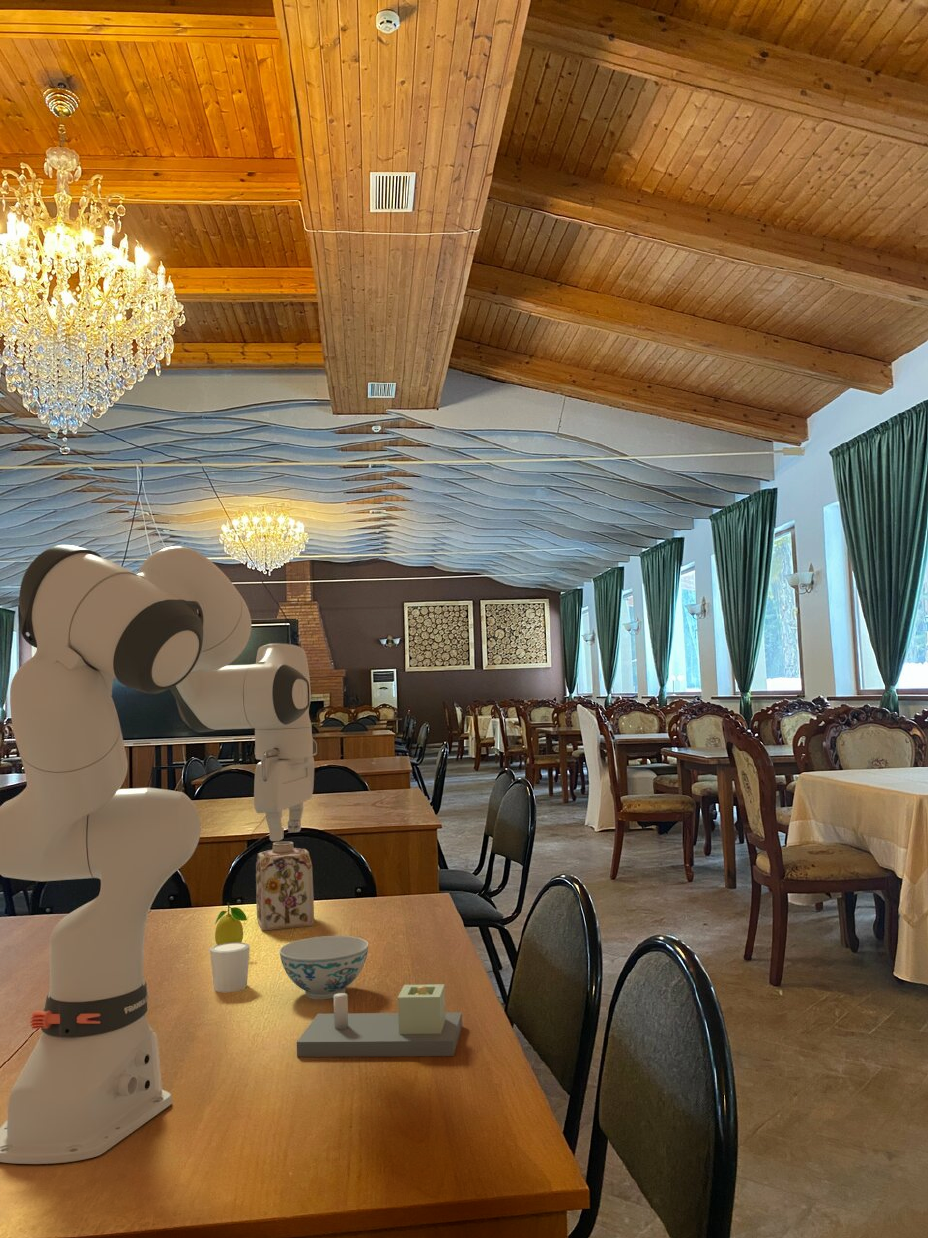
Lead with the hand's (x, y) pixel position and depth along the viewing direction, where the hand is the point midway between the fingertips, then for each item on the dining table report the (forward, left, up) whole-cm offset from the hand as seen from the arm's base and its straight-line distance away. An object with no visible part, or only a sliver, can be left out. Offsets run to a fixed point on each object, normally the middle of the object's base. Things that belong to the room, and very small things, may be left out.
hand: (285, 836), depth 150 cm
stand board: (-7, -16, -28) cm, 34 cm away
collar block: (-8, -22, -26) cm, 35 cm away
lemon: (+43, +24, -29) cm, 57 cm away
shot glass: (+20, +16, -29) cm, 38 cm away
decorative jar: (+68, +20, -29) cm, 76 cm away
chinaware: (+16, -2, -29) cm, 33 cm away
